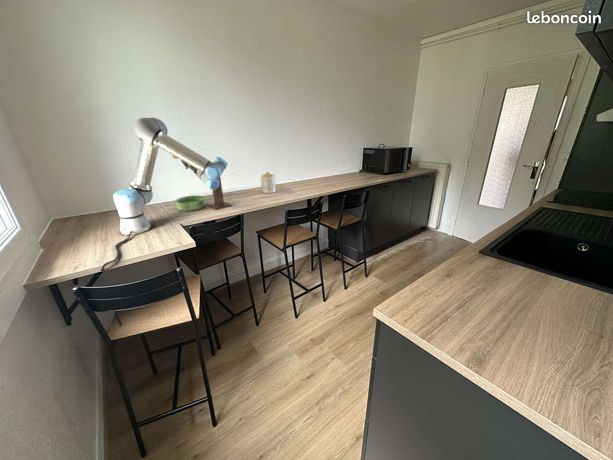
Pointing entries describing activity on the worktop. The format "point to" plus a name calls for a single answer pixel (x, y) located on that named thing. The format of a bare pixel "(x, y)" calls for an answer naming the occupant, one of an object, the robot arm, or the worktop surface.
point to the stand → (218, 198)
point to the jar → (268, 183)
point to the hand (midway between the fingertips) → (182, 152)
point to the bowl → (190, 203)
